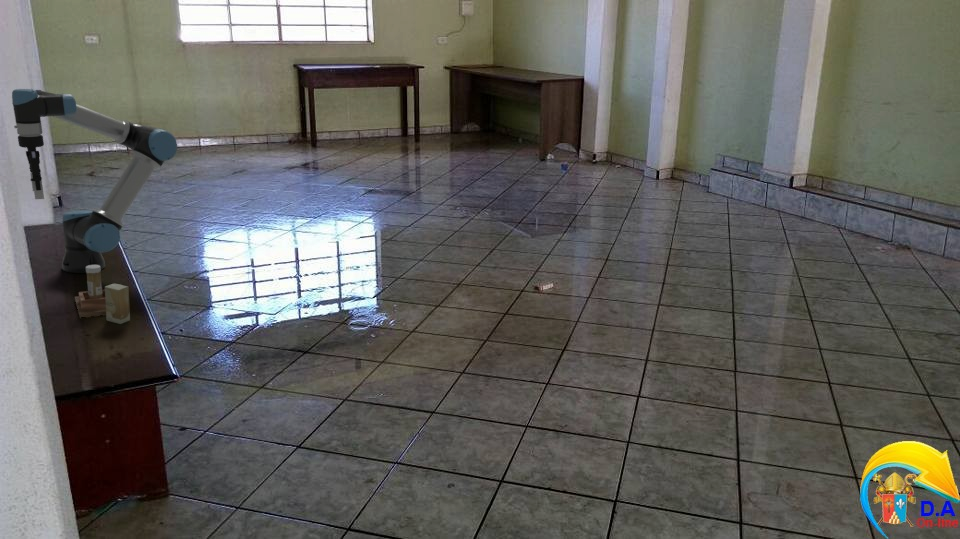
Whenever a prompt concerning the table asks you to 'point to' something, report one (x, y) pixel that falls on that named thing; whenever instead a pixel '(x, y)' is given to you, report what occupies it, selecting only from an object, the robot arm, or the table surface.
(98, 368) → the table surface
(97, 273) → the sprinkles bottle
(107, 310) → the skincare box
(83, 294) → the collar plate
